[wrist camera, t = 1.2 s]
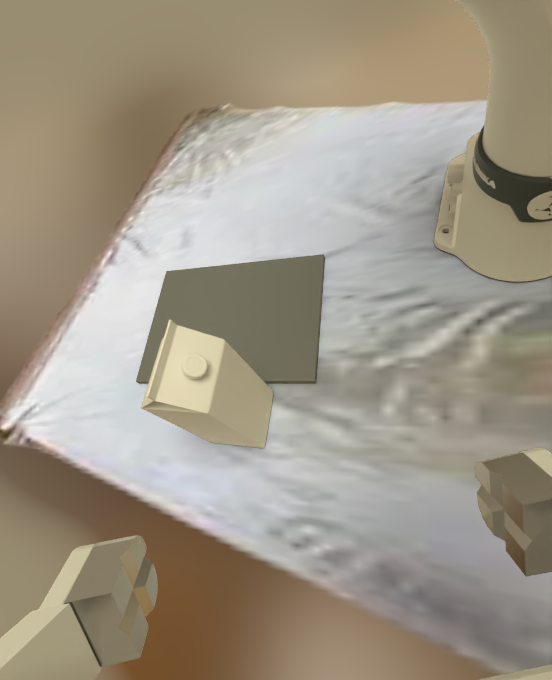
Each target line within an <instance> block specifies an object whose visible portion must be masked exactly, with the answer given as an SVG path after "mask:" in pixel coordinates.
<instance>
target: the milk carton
mask: <svg viewBox="0 0 552 680" xmlns="http://www.w3.org/2000/svg"><path fill="white" fill-rule="evenodd" d="M273 394H274V392H273V390H272V389H271V388H270V387H269V386H268V385H267V384H266V383H265V382H264V381H263V380H262V379H261V378H260V377H259V376H258V375H257V374H256V373H255V371H254V370H253V369H252V368H251V367H250V366H249V365H248V364H247V363H246V362H245V361H244V360H243V359H242V358H241V357H240V356H239V355H238V354H237V352H236V351H235V350H234V349H233V348H232V347H231V346H230V345H229V344H228V343H227V342H226V341H225V340H224V339H221V338H218V337H215V336H211V335H208V334H205V333H202V332H198V331H195V330H192V329H189V328H185V327H182V326H179V325H177V324H175V323H174V322H173V321H172V320H169V322H168V325H167V329H166V332H165V335H164V338H163V339H162V341H161V344H160V347H159V350H158V354H157V357H156V360H155V363H154V367H153V370H152V373H151V377H150V380H149V383H148V386H147V390H146V393H145V396H144V400H143V403H142V406H141V408H142V409H144V410H146V411H148V412H150V413H152V414H154V415H156V416H158V417H160V418H162V419H164V420H166V421H168V422H171V423H173V424H175V425H177V426H179V427H181V428H183V429H185V430H187V431H189V432H191V433H193V434H195V435H197V436H199V437H201V438H203V439H205V440H207V441H209V442H212V443H220V444H229V445H238V446H248V447H257V448H264V447H265V443H266V437H267V431H268V425H269V419H270V413H271V406H272V400H273Z"/></svg>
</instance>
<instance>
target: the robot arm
mask: <svg viewBox="0 0 552 680" xmlns="http://www.w3.org/2000/svg"><path fill="white" fill-rule="evenodd" d="M453 1H455V2H456V3H457V4H459V5H460V6H461V7H462V8H463V9H464V10H465V11H466V12H467V14H468V15H469V16H470V17H471V19H472V20H473V21H474V23H475V24H476V26H477V28H478V29H479V31H480V33H481V35H482V37H483V40H484V42H485V45H486V49H487V54H488V61H489V90H488V102H487V110H486V118H485V125H484V126H483V128H482V130H481V132H479V133H477V134H476V135H474V136H473V137H471V138H470V139H469V140H468V142H467V147H466V153H463V154H461V155H459V156H457V157H456V158H454V159H452V160H451V161H450V162H449V164H448V168H447V172H446V177H445V183H444V188H443V194H442V199H441V205H440V210H439V216H438V221H437V226H436V232H435V237H434V245H435V246H436V247H437V248H439V249H440V250H443V251H445V252H448V253H451V254H454V255H455V256H457V257H458V258H460V259H461V260H462V261H463V262H464V263H465V264H466V265H467V266H469V267H470V268H472V269H473V270H475V271H476V272H478V273H480V274H483V275H485V276H488V277H491V278H494V279H498V280H504V281H515V282H521V281H533V280H538V279H543V278H546V277H549V276H552V0H453ZM443 232H448V233H443ZM475 477H476V478H477V480H478V481H479V482H480V483H481V484H482V485H481V487H480V489H479V490H478V492H477V499H478V506H479V509H480V512H481V514H482V517H483V519H484V521H485V523H486V524H487V526H488V528H489V529H490V530H491V532H492V533H493V534H494V535H495V536H497V537H499V538H501V539H503V540H505V542H506V551H507V553H508V554H509V555H510V557H511V558H512V559H513V560H514V562H515V563H516V564H517V566H518V567H519V568H520V569H521V571H522V572H523V573H524V575H525V576H531V575H537V574H542V573H548V572H552V453H550V452H549V451H548V450H546V449H544V448H541V447H538V448H534V449H530V450H526V451H522V452H518V453H516V454H512V455H507V456H502V457H498V458H493V459H489V460H484V461H480V462H476V465H475ZM146 549H147V547H146V545H145V543H144V541H143V538H142V537H140V536H138V535H137V536H131V537H126V538H121V539H116V540H111V541H106V542H100V543H97V544H91V545H86V546H82V547H78V548H76V549H75V550H73V551H72V553H71V554H70V556H69V558H68V560H67V561H66V563H65V565H64V566H63V568H62V570H61V572H60V573H59V575H58V577H57V579H56V580H55V582H54V584H53V586H52V587H51V589H50V591H49V593H48V594H47V596H46V598H45V600H44V601H43V603H42V605H41V606H40V608H39V610H35V611H31V612H30V613H29V614H28V615H27V616H26V617H24V618H23V619H22V620H21V621H20V622H19V623H18V624H17V625H15V626H14V627H13V628H12V629H11V630H10V631H8V632H7V633H6V634H5V635H4V636H3V637H1V638H0V680H94V679H95V678H96V676H97V675H98V674H99V672H100V671H101V667H104V666H108V665H112V664H116V663H120V662H124V661H128V660H133V659H137V658H140V656H141V652H142V648H143V645H144V641H145V637H146V634H147V630H148V624H147V622H146V619H145V617H146V616H147V615H148V614H149V613H150V611H151V610H152V609H153V608H154V605H155V601H156V596H157V576H156V571H155V568H154V565H153V563H152V562H150V561H149V560H148V559H146V558H145V557H144V555H145V552H146ZM478 680H552V664H550V665H545V666H541V667H536V668H531V669H526V670H521V671H517V672H512V673H507V674H502V675H497V676H492V677H488V678H483V679H478Z"/></svg>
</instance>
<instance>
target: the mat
mask: <svg viewBox="0 0 552 680" xmlns="http://www.w3.org/2000/svg"><path fill="white" fill-rule="evenodd" d="M324 264H325V257H324V254H323V255H314V256H305V257H296V258H286V259H277V260H268V261H259V262H249V263H240V264H231V265H222V266H212V267H203V268H194V269H184V270H175V271H166V275H165V279H164V282H163V286H162V289H161V293H160V297H159V300H158V304H157V307H156V311H155V315H154V318H153V322H152V326H151V329H150V333H149V336H148V340H147V344H146V347H145V351H144V354H143V358H142V362H141V365H140V369H139V372H138V376H137V380H136V382H138V383H149V380H150V377H151V373H152V370H153V367H154V363H155V360H156V357H157V354H158V350H159V347H160V344H161V341H162V339H163V338H164V335H165V332H166V329H167V325H168V322H169V320H172V321H173V322H174V323H175V324H177V325H179V326H182V327H185V328H189V329H192V330H195V331H198V332H202V333H205V334H208V335H211V336H215V337H218V338H221V339H224V340H225V341H226V342H227V343H228V344H229V345H230V346H231V347H232V348H233V349H234V350H235V351H236V352H237V354H238V355H239V356H240V357H241V358H242V359H243V360H244V361H245V362H246V363H247V364H248V365H249V366H250V367H251V368H252V369H253V370H254V371H255V373H256V374H257V375H258V376H259V377H260V378H261V379H262V380H263V381H264V382H265V383H316V378H317V364H318V350H319V335H320V321H321V307H322V292H323V278H324Z"/></svg>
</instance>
